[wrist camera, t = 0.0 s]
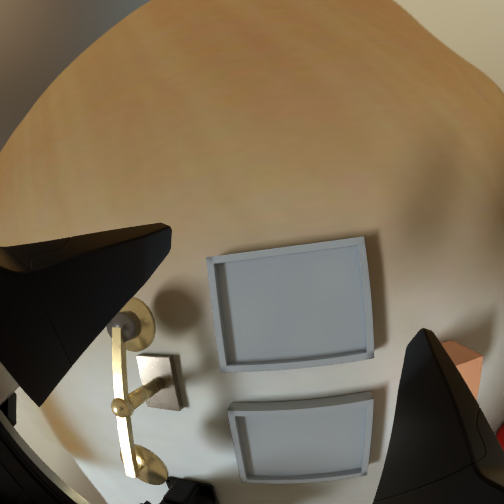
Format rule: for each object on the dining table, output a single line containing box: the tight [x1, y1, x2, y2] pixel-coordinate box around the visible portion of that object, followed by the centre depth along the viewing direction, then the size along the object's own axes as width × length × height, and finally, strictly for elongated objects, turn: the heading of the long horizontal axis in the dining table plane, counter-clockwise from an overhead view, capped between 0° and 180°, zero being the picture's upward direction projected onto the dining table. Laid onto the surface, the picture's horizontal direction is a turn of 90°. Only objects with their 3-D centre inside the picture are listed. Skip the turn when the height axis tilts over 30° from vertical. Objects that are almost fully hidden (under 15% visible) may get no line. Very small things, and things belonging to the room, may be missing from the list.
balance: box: [107, 297, 183, 485], centre depth 20 cm, size 18×5×9 cm, turn 7°
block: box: [441, 340, 483, 400], centre depth 17 cm, size 4×4×6 cm
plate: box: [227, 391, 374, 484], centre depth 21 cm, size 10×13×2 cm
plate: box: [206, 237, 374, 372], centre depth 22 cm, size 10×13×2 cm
